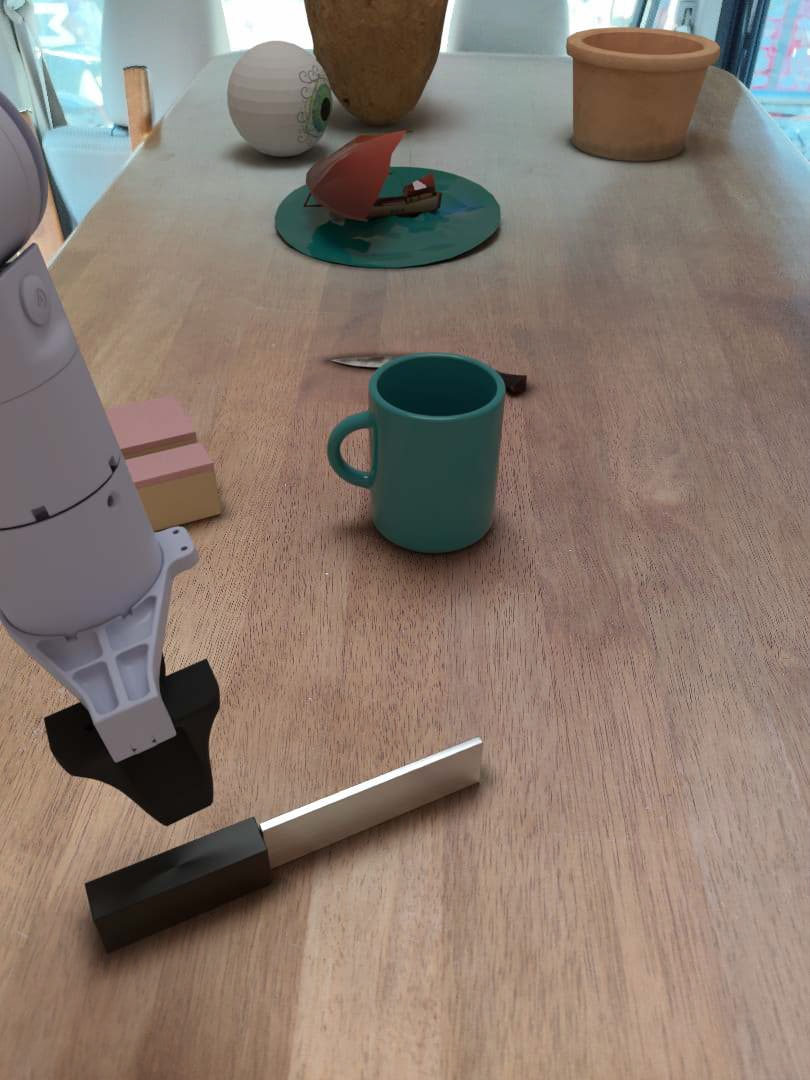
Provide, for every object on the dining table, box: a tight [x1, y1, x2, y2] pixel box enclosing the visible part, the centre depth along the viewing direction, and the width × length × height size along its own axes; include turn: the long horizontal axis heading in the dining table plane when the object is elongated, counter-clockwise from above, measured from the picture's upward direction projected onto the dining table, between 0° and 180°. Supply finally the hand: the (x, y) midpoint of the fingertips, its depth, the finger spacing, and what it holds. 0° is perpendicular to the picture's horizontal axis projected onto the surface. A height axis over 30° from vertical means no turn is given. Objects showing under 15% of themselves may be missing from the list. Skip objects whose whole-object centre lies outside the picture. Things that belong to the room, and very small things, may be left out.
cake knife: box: [84, 735, 484, 955], centre depth 44 cm, size 20×2×3 cm, turn 116°
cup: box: [326, 351, 507, 554], centre depth 63 cm, size 9×12×11 cm
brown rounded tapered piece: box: [303, 0, 449, 126], centre depth 139 cm, size 22×22×25 cm
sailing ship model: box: [274, 129, 502, 269], centre depth 109 cm, size 28×28×11 cm
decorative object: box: [226, 40, 333, 158], centre depth 129 cm, size 15×15×15 cm
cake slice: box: [125, 441, 222, 532], centre depth 64 cm, size 9×3×5 cm, turn 116°
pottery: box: [565, 26, 721, 162], centre depth 135 cm, size 22×22×14 cm
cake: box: [104, 394, 198, 460], centre depth 69 cm, size 9×6×5 cm, turn 116°
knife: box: [330, 355, 528, 394], centre depth 83 cm, size 18×1×5 cm
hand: (163, 742), depth 38 cm, fingers open, 7 cm apart
